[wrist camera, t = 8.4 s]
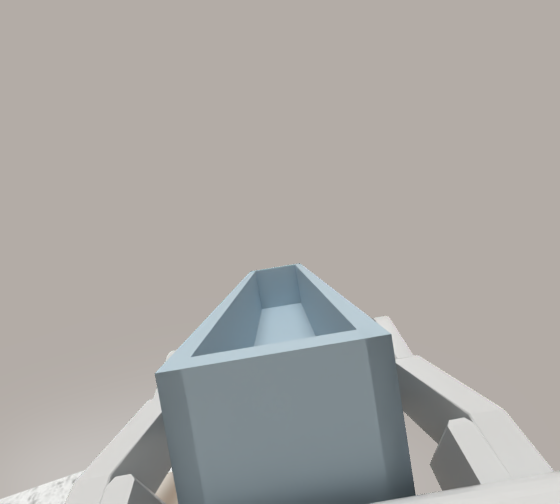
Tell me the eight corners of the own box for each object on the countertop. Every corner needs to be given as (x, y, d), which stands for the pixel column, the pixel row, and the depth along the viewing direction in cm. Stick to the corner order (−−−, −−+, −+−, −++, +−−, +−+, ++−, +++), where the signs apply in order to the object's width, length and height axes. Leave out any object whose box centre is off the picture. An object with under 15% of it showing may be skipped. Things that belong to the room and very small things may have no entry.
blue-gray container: (307, 307, 23) (300, 263, 23) (421, 536, 5) (391, 334, 5) (257, 315, 23) (250, 271, 23) (191, 576, 5) (154, 373, 5)
